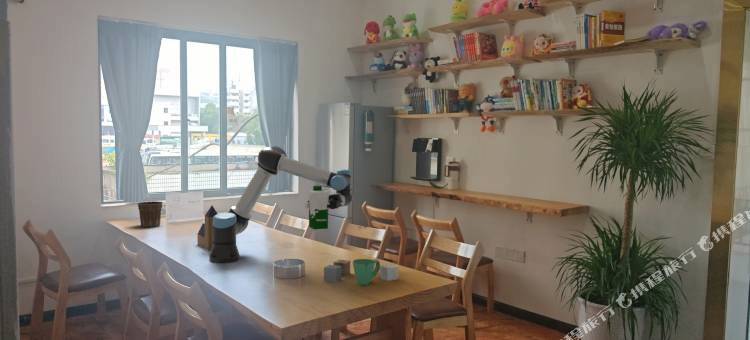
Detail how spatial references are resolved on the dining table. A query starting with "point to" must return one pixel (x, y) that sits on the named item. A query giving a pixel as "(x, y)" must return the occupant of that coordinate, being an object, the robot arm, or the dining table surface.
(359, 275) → the mug
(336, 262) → the walnut block
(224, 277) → the dining table surface
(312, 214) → the soya milk
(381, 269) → the white cube
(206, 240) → the toy building blocks
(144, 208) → the plant pot
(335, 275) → the slate grey block
